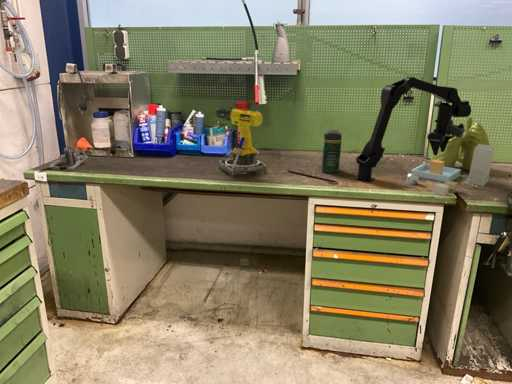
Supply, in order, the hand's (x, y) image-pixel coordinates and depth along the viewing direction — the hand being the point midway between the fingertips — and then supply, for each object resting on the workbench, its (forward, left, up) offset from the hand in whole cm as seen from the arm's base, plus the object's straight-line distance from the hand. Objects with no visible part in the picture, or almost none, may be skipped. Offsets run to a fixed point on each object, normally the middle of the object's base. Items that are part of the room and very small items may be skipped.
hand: (438, 153), depth 182 cm
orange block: (0, 0, -9) cm, 9 cm away
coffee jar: (-24, +39, -10) cm, 47 cm away
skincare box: (+2, -17, -10) cm, 20 cm away
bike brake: (-102, +132, -11) cm, 167 cm away
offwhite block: (-24, -10, -10) cm, 28 cm away
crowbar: (-40, +40, -11) cm, 58 cm away
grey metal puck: (-18, +4, -10) cm, 21 cm away
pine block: (-18, -11, -10) cm, 24 cm away
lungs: (+21, -3, -11) cm, 23 cm away
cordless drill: (-50, +71, -11) cm, 88 cm away
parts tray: (0, 0, -10) cm, 10 cm away
